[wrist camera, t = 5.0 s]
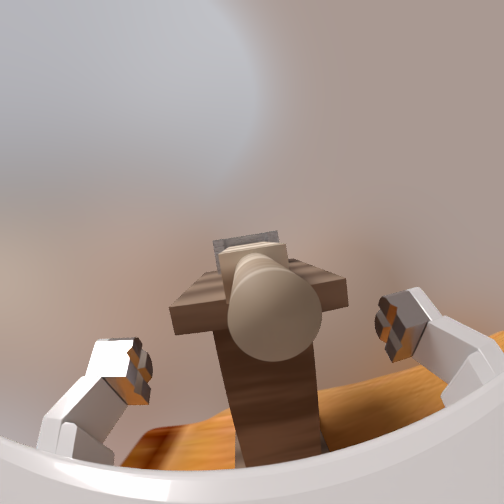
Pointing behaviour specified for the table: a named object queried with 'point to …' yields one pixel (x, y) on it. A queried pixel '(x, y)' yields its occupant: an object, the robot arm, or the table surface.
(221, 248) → the cup bracket
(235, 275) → the ash rail
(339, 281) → the walnut stand
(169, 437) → the table surface
